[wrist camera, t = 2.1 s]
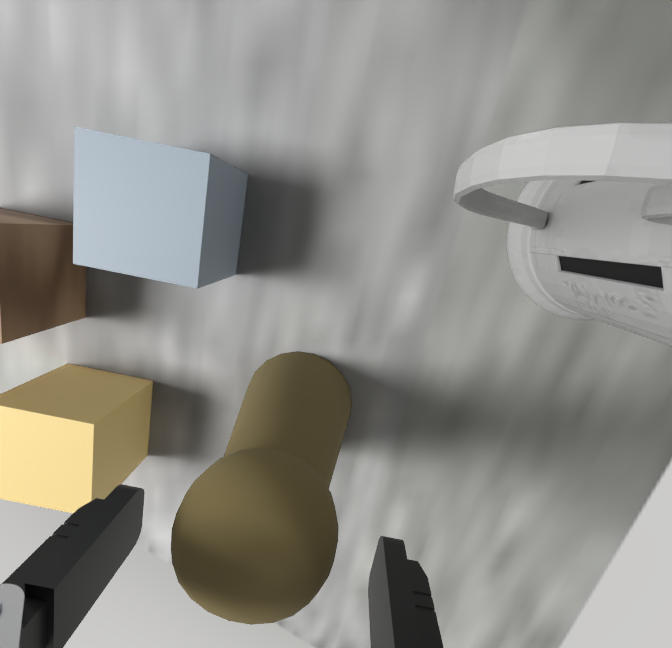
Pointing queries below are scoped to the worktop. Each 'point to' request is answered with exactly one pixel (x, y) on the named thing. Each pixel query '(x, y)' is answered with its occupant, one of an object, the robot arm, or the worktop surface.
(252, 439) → the cork
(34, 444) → the mustard block
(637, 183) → the glass holder
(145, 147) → the slate block
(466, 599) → the worktop surface
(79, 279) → the walnut block
